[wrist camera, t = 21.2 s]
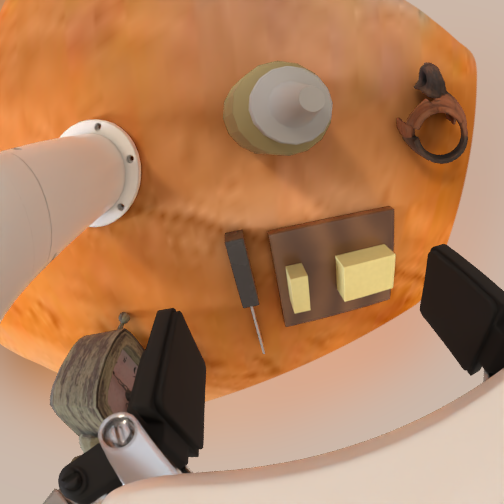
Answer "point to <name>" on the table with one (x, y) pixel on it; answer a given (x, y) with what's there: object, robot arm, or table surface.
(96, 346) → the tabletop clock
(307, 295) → the butter slice
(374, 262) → the butter
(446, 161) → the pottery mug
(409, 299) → the table surface
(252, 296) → the knife
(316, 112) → the squeeze bottle
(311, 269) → the cutting board
